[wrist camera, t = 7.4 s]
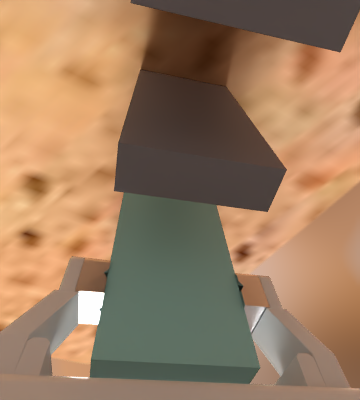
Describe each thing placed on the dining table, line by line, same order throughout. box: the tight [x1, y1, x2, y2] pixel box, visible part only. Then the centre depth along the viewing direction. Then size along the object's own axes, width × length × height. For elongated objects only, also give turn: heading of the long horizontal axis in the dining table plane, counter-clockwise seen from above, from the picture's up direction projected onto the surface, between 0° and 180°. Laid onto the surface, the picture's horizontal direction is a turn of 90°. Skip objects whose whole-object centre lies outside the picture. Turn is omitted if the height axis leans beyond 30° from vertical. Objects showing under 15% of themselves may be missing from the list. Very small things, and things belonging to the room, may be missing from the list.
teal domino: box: [90, 192, 260, 384], centre depth 13 cm, size 2×5×10 cm, turn 78°
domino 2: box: [114, 70, 287, 212], centre depth 13 cm, size 2×5×10 cm, turn 79°
